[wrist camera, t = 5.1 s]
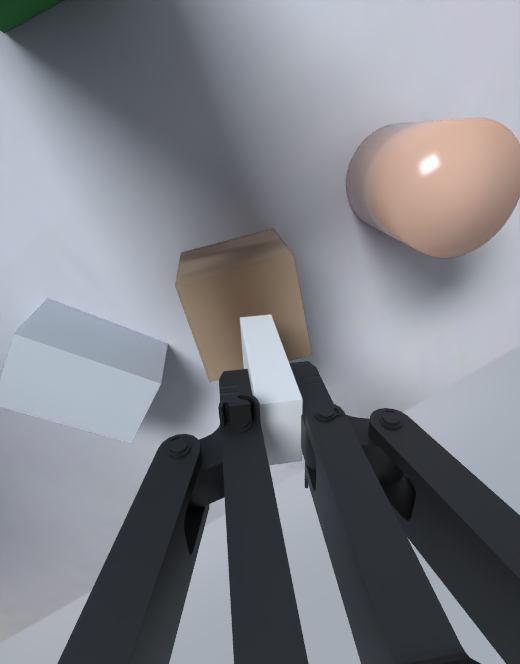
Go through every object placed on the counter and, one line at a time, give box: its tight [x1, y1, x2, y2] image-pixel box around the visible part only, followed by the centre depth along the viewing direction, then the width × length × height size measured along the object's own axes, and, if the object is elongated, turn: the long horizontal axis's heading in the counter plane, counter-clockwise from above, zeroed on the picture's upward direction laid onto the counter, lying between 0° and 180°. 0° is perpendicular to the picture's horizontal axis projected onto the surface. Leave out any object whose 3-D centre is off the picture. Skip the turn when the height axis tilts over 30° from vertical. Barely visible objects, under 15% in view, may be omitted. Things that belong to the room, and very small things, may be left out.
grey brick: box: [0, 298, 168, 443], centre depth 24 cm, size 8×5×5 cm, turn 62°
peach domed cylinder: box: [346, 118, 520, 258], centre depth 20 cm, size 6×6×7 cm
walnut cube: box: [175, 229, 312, 382], centre depth 22 cm, size 6×6×6 cm
